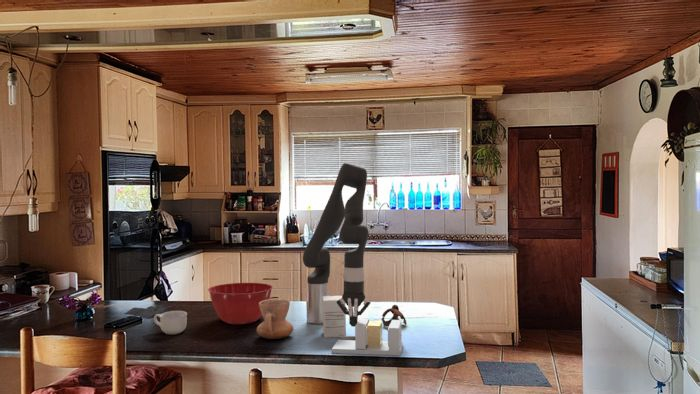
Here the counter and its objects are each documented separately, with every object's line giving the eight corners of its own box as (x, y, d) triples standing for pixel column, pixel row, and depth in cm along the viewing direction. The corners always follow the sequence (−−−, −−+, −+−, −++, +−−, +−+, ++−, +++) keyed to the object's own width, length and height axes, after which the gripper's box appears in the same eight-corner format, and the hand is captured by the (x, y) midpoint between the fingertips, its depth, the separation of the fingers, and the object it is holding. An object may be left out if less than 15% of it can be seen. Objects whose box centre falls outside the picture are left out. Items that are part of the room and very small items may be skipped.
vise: (331, 352, 191) (331, 326, 191) (338, 343, 203) (337, 318, 203) (400, 355, 187) (400, 328, 187) (403, 345, 199) (402, 320, 199)
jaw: (338, 348, 191) (338, 325, 191) (344, 338, 203) (344, 317, 203) (366, 349, 189) (366, 326, 189) (371, 339, 201) (370, 318, 201)
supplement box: (322, 332, 220) (322, 295, 220) (344, 331, 221) (343, 295, 220) (323, 338, 211) (322, 300, 211) (346, 337, 212) (345, 299, 211)
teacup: (192, 330, 226) (192, 311, 226) (176, 337, 216) (175, 317, 216) (165, 328, 231) (164, 309, 231) (148, 334, 221) (147, 315, 221)
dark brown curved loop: (408, 330, 225) (397, 319, 221) (389, 337, 229) (378, 327, 225) (408, 308, 234) (397, 297, 230) (390, 315, 238) (379, 305, 234)
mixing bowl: (257, 311, 260) (257, 279, 260) (284, 323, 236) (283, 288, 236) (200, 320, 244) (199, 286, 244) (222, 333, 221) (221, 296, 220)
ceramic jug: (265, 330, 224) (265, 296, 224) (298, 332, 221) (298, 297, 221) (248, 342, 206) (248, 306, 206) (284, 344, 203) (283, 307, 203)
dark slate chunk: (142, 311, 266) (142, 302, 265) (176, 315, 256) (175, 305, 256) (117, 318, 252) (116, 308, 252) (151, 322, 242) (151, 312, 242)
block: (367, 347, 192) (367, 325, 192) (370, 342, 199) (369, 320, 199) (380, 348, 191) (379, 325, 191) (382, 342, 198) (381, 321, 198)
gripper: (373, 278, 199) (372, 324, 199) (338, 276, 201) (337, 322, 202) (370, 281, 192) (369, 329, 192) (334, 280, 194) (333, 327, 194)
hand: (353, 326), depth 197 cm, fingers closed
